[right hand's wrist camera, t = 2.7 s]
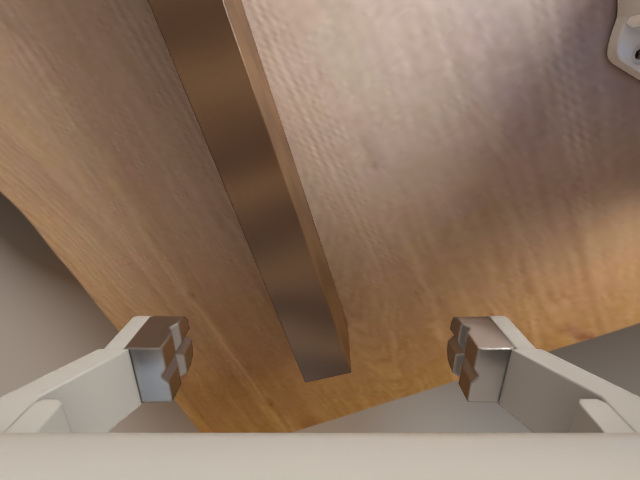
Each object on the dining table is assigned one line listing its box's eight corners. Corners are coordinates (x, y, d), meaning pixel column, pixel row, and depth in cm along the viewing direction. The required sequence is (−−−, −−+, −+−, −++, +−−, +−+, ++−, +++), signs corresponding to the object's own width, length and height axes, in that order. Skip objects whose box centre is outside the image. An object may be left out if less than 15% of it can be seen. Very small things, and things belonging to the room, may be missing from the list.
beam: (347, 324, 40) (351, 372, 33) (309, 333, 41) (305, 382, 33) (41, -608, 19) (-147, -1071, 11) (-30, -558, 19) (-251, -966, 12)
